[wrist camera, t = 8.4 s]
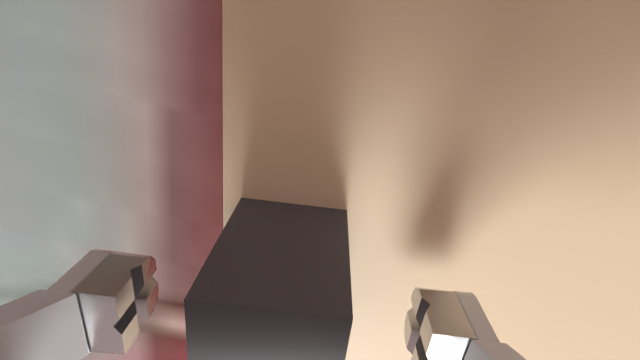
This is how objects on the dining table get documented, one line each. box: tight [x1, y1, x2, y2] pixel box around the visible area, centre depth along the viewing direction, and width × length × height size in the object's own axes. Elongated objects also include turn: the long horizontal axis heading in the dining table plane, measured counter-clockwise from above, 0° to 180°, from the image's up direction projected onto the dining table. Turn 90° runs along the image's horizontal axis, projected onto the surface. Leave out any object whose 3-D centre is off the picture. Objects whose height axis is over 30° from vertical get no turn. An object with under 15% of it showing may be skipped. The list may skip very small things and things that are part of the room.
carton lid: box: [184, 0, 640, 360], centre depth 9 cm, size 19×15×5 cm
